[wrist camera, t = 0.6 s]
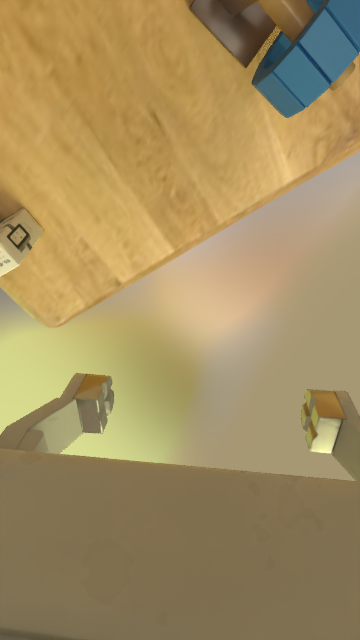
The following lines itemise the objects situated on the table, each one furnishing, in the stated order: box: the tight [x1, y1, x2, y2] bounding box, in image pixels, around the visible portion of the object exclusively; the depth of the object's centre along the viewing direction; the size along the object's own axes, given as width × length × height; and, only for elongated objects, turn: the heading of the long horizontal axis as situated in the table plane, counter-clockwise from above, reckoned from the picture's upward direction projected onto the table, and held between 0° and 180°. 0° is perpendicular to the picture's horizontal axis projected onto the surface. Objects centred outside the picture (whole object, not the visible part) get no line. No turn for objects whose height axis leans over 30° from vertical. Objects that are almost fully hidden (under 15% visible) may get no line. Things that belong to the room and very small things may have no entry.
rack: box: [189, 0, 355, 90], centre depth 32 cm, size 14×8×20 cm, turn 53°
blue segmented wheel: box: [252, 0, 360, 118], centre depth 31 cm, size 4×10×10 cm, turn 143°
